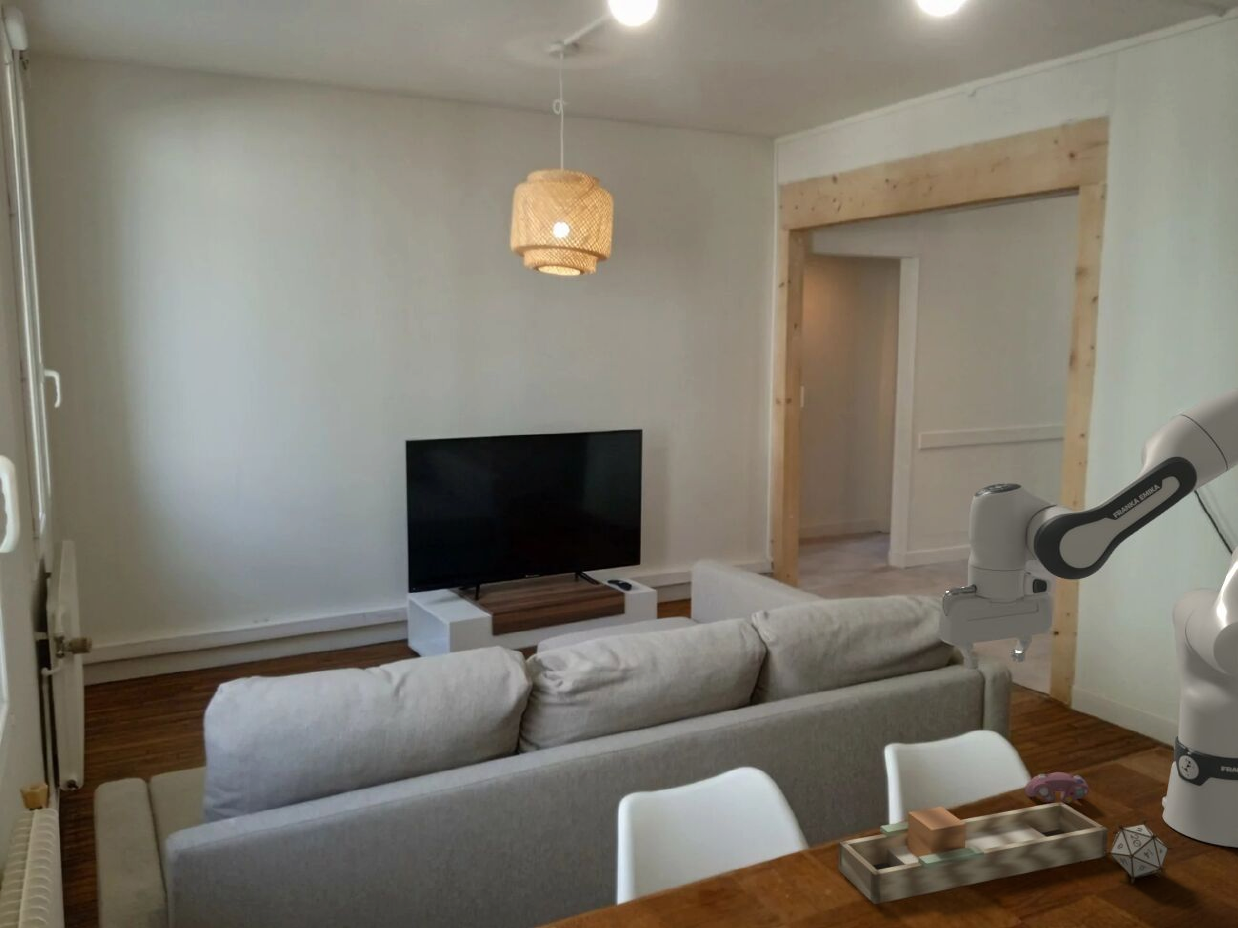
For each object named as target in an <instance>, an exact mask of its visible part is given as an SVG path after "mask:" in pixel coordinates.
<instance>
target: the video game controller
mask: <svg viewBox="0 0 1238 928" xmlns="http://www.w3.org/2000/svg"><path fill="white" fill-rule="evenodd" d="M1056 792H1060V794H1059V797H1060V799H1061V802H1062V803H1064V804H1072V803H1074V802H1075V801H1076V800H1078V799H1079V800H1081V799H1083V798H1085V797H1086V796H1087V795H1089V793H1090V787H1089V785H1088V783H1087V782H1086V780H1085V779H1084V778H1082V776H1080V775H1079V774H1077V775H1076V774H1075V775H1073V774H1070V773H1066V772H1062V771H1061V772H1060V771H1056V772H1052V773H1047V774H1045V773H1039V774H1038V775H1036V776H1034V777H1033V778H1031V780H1030V781H1028V782H1026V785H1025V794H1026V795H1027V797H1029V798H1034V797H1037V796H1038V797H1040V798H1041V799H1042V801H1043V802H1044V803H1048V802H1051V803H1055V801H1056V800H1057V796H1056Z"/></svg>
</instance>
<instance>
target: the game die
mask: <svg viewBox="0 0 1238 928" xmlns="http://www.w3.org/2000/svg"><path fill="white" fill-rule="evenodd" d="M1141 821H1142V823H1140V824H1136V825H1131V826H1126V827H1123V826H1122V824H1119V823H1118V824H1117V827H1118V829H1119V830H1117V829H1112V832H1113V834H1114V835H1115V837H1114V839H1113V841H1112V845H1111V847H1110V849H1109V850H1107V852H1106V851H1105V852H1104V853H1103V854H1105V855H1106V856H1109V855H1110V856H1111V857H1112V858H1113V859H1114V860H1115V861H1116V862H1117V863H1118V865H1120V867H1121V868H1122V869H1123V870H1124V871H1125V872H1126V873H1127V874H1128V875H1129V876H1130V877H1131V879H1130V882H1131V884H1134V883H1135V878H1141V877H1145V876H1149V875H1153V874H1154V876H1155V878H1156V877H1157V878H1160V874H1159V871H1161V873H1165V874H1166V869H1165V868H1164V867H1163V865H1164V862H1165V859H1166V857H1167V853H1168V851H1173V849H1175V847H1173V846H1167V845H1166V844H1165V843H1164V842H1163V841H1162V840H1161V839H1160V838H1159V837H1158V835H1157V834H1156V833H1154V832H1153V831H1152V830H1151V829H1150V828H1149V827H1148V826H1147V825H1146V824H1147V819H1146V818H1143V819H1142V820H1141Z"/></svg>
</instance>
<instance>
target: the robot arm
mask: <svg viewBox="0 0 1238 928" xmlns="http://www.w3.org/2000/svg"><path fill="white" fill-rule="evenodd" d="M1142 445H1143V446H1142V448H1141V452H1140V453H1141V455H1140V457H1141V469H1140V471H1139V472H1138V474H1137V475H1136V477H1134V478H1133V479H1132V480H1131V481H1130V482H1128V483H1127V484H1125V485H1123V486H1122V487H1121V488H1120V489H1117V490H1116V491H1115V492H1114V493H1112V494H1111V495H1110V496H1108V497H1106V498H1105V499H1104V500H1102V501H1101V502H1099V503H1098V504H1097V505H1095V506H1093V507H1091V508H1089V509H1085V510H1079V511H1078V510H1077V511H1075V510H1074V509H1072V508H1070V507H1068V506H1066V505H1062V504H1059V503H1057V502H1053V501H1050V500H1048V499H1045V498H1042V497H1040V496H1038V495H1036V494H1034V493H1033V492H1030V491H1029V490H1028V489H1025V487H1023V485H1021V484H1018V483H1009V482H1008V483H997V484H992V485H988V486H984V487H982V488H980V489H979V490H977V491H976V492H975V494H974V495H973V498H972V500H971V505H970V509H969V510H970V511H969V521H968V541H969V545H970V555H969V558H968V561H967V585H964V586H960V587H958V586H954V587H950V588H949V590H948V591H946V592H945V594H943V596H942V598H941V609H940V616H939V621H938V632H937V634H938V637H939V639H940V640H941V642H944V643H946V644H949V645H950V646H954V647H955V646H957V648H958V650H959V652H960V653H961V655H962V657H963V666H964V668H965V669H967V670H974V669H978V668H979V658H978V657H975V656H974V655H973V653H972V651H971V650H973V649H974V644H976V643H977V644H979V643H984V642H993V641H1001V640H1008V639H1014V638H1015V639H1016V640H1017V643H1016V645H1015V647H1014V649H1011V650H1010V660H1011V661H1012V662H1015V663H1016V664H1017V663H1024V662H1025V661H1026V652H1027V651H1028V649H1029V647H1030V645H1032V644H1031V643H1032V641H1033V640H1032V639H1033V638H1032V637H1033V636H1037V635H1045V634H1047V633H1049V631H1050V630H1051V628H1052V625H1053V601H1052V597H1051V595H1050V594H1049V593H1050V592H1051V591H1052V580H1050V579H1047V578H1045V577H1042V576H1039V575H1036V574H1032V573H1031V572H1028V571H1027V563H1028V562H1029V561H1038V562H1040V564H1041V565H1042V566H1043V567H1044V569H1046V570H1047V571H1048V572H1049V573H1050V574H1052V575H1053V576H1055V577H1057V578H1061V579H1064V580H1071V581H1072V580H1073V581H1074V580H1075V581H1076V580H1081V579H1082V580H1083V579H1085V578H1088V577H1090V576H1092V575H1095V573H1097V572H1098V571H1099V570H1101V568H1103V566H1104V565H1105V564H1106V563H1107V561H1108V560H1109V559H1110V557H1111V555H1112V554H1113V553H1114V551H1115V550H1116V549H1117V548H1118V547H1119V546H1120V544H1121V543H1123V542H1124V541H1125V540H1126V539H1128V538H1130V537H1131V536H1132V535H1134V534H1135V533H1137V532H1138V531H1140V530H1141V529H1142V528H1144V527H1145V526H1146V525H1148V524H1150V523H1151V522H1152V521H1154V520H1155V519H1156V518H1158V517H1159V516H1161V515H1162V514H1164V513H1165V512H1166V511H1168V510H1170V509H1171V508H1172V507H1173V506H1175V505H1176V504H1177V503H1179V502H1180V501H1181V500H1183V499H1184V498H1185V497H1187V496H1189V495H1190V494H1191V493H1193V492H1194V491H1196V490H1197V489H1200V488H1201V487H1203V486H1205V485H1206V484H1208V483H1209V482H1212V481H1213V480H1215V479H1217V478H1218V477H1220V476H1222V475H1223V474H1225V473H1227V472H1228V471H1229V470H1231V469H1233V468H1234V467H1235V466H1238V387H1237V388H1233V389H1229V390H1227V391H1223V392H1221V393H1219V394H1217V395H1216V394H1215V396H1212V397H1209V398H1207V399H1206V400H1204V401H1201V402H1198V404H1195V405H1194V406H1192V407H1190V408H1188V409H1187V410H1185V411H1183V412H1182V413H1180V414H1178V415H1177V416H1175V417H1173V418H1171V419H1170V420H1168V421H1167V422H1166V423H1164V424H1163V425H1161V426H1160V427H1159V428H1157V429H1156V430H1155V431H1154V433H1152V434H1151V435H1150V436H1148V438H1147V439H1146V440H1145V441H1144V443H1143V444H1142ZM1171 613H1172V622H1173V623H1172V624H1173V628H1174V636H1175V637H1174V638H1175V652H1176V653H1175V654H1176V664H1177V673H1178V682H1179V713H1178V714H1179V715H1178V717H1179V718H1178V722H1179V723H1178V731H1177V736H1176V737H1175V740H1174V744H1173V750H1174V752H1173V759H1174V761H1173V763H1172V765H1171V770H1170V773H1169V774H1170V775H1169V779H1168V786H1167V792H1166V796H1164V797H1162V799H1161V801H1162V802H1161V804H1162V807H1163V813H1162V819H1163V820H1164V822H1165V823H1166V824H1167V825H1168V826H1169V827H1171V828H1172V829H1174V830H1175V831H1176V832H1178V833H1180V834H1182V835H1185V836H1187V837H1190V838H1192V839H1195V840H1197V841H1201V842H1204V843H1209V844H1212V845H1218V846H1224V847H1232V848H1238V545H1237V546H1236V547H1235V548H1234V550H1233V551H1232V553H1231V558H1230V565H1229V568H1228V571H1227V573H1226V576H1225V578H1224V581H1223V583H1222V585H1221V587H1220V589H1214V588H1204V587H1203V588H1194V589H1190V590H1188V591H1186V592H1184V593H1183V594H1182V595H1180V596H1179V597H1178V598H1177V600H1176V601H1175V603H1174V605H1173V608H1172V612H1171Z"/></svg>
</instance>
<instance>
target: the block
mask: <svg viewBox="0 0 1238 928" xmlns="http://www.w3.org/2000/svg"><path fill="white" fill-rule="evenodd" d="M961 820H962V819H960V818H958V817H957V816H955V815H954V814H953V813H951V812H950V811H949V810H947V809H945V808H944V807H943V806H938V807H932V808H926V809H919V810H914V811H908V812H907V821H908V844H907V849H908V850H909V851H910V852H911V853H913V854H914V855H915V856H916V857H920V856H926V855H931V854H936V853H941V852H946V851H952V850H957V849H962V848H965V834H966V824H965V823H964V822H962V821H961Z"/></svg>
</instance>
